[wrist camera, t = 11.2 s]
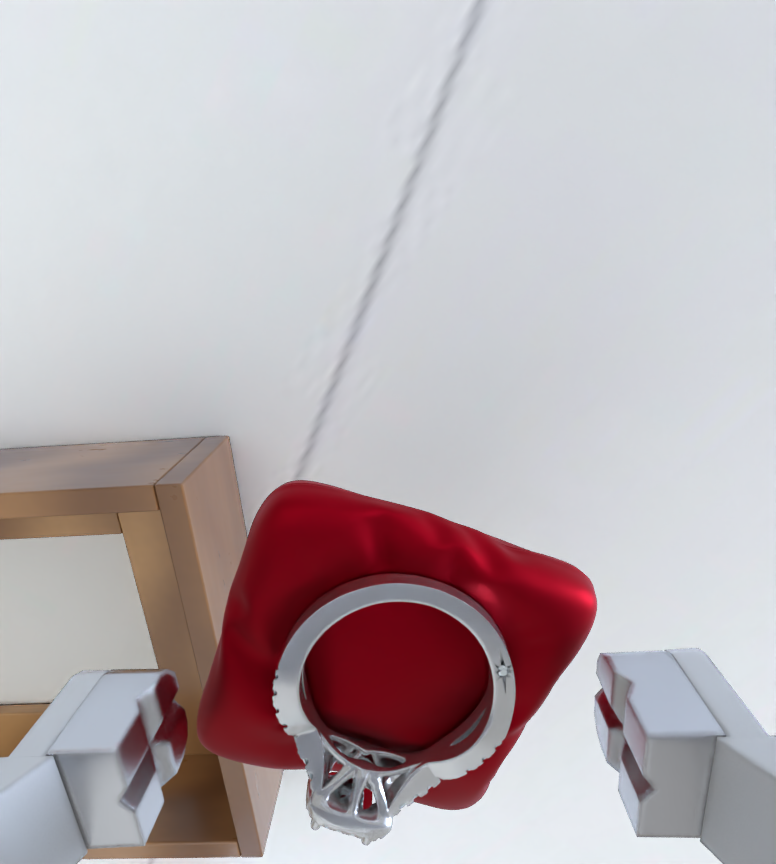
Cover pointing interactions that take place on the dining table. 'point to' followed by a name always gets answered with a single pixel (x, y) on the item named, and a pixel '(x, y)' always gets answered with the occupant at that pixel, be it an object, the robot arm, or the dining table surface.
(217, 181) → the dining table surface
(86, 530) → the crate
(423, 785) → the engagement ring
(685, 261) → the dining table surface
